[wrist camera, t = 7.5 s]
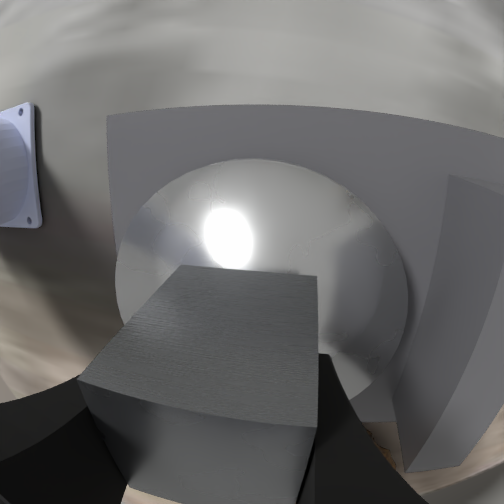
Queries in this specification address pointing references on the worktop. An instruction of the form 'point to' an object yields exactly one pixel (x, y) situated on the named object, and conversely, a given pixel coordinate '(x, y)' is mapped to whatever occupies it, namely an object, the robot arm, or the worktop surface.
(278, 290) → the block
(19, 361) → the worktop surface
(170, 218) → the pan
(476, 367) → the scale
